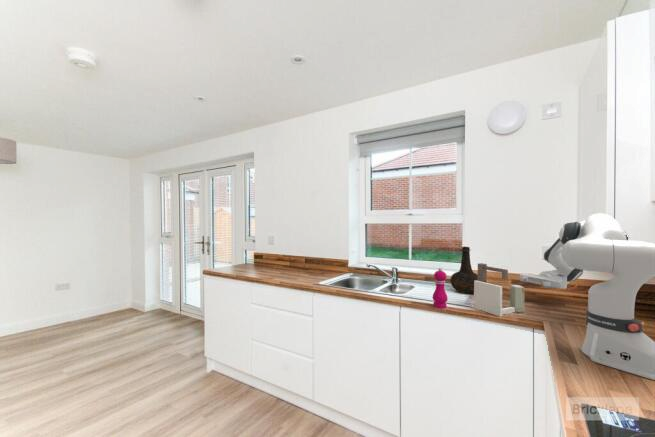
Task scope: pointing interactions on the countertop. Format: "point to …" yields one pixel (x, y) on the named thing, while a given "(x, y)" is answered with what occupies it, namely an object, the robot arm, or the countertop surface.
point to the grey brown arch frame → (483, 270)
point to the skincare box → (517, 298)
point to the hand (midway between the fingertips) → (532, 281)
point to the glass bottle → (464, 274)
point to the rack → (489, 299)
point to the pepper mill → (440, 289)
